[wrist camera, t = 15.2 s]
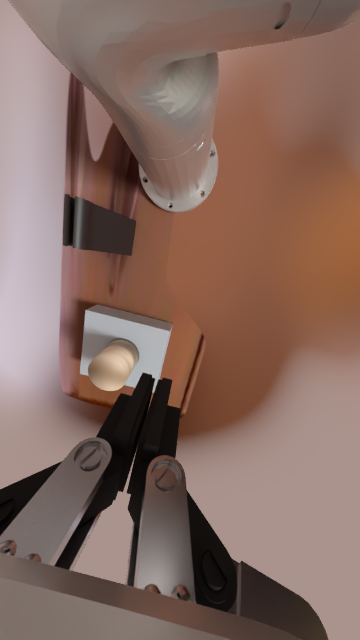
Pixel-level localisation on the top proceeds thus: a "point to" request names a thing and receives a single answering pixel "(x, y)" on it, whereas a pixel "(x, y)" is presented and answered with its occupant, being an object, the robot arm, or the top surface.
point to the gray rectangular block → (136, 328)
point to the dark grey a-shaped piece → (96, 228)
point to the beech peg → (113, 364)
